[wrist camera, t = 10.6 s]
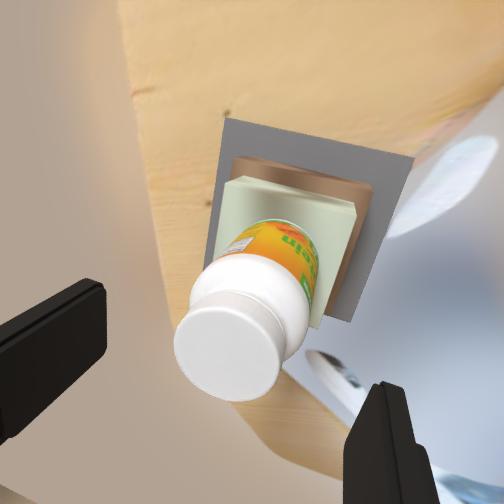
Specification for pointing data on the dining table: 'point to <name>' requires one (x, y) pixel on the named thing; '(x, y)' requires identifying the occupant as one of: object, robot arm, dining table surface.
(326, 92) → the dining table surface
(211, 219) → the baseplate
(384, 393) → the robot arm
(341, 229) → the two-tone block stack
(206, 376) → the supplement bottle
